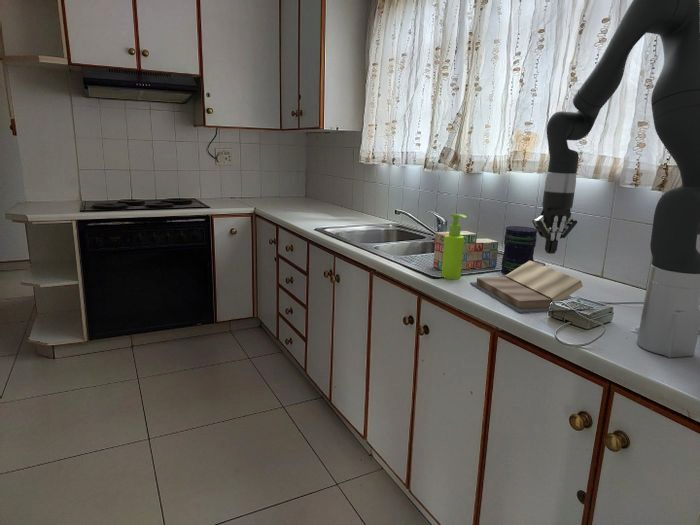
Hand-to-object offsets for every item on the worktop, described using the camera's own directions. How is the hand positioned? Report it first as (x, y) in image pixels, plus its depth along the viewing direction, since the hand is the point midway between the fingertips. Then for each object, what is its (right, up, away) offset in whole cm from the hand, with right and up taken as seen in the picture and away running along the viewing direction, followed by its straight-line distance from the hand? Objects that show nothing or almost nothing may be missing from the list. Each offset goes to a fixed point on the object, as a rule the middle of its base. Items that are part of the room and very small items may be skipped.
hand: (550, 253), depth 130 cm
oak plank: (-2, -9, +2) cm, 9 cm away
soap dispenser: (-23, -7, +18) cm, 30 cm away
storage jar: (0, -6, +26) cm, 27 cm away
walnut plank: (-11, -12, 0) cm, 16 cm away
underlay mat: (-6, -12, +1) cm, 13 cm away
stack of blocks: (-16, -5, +32) cm, 36 cm away
